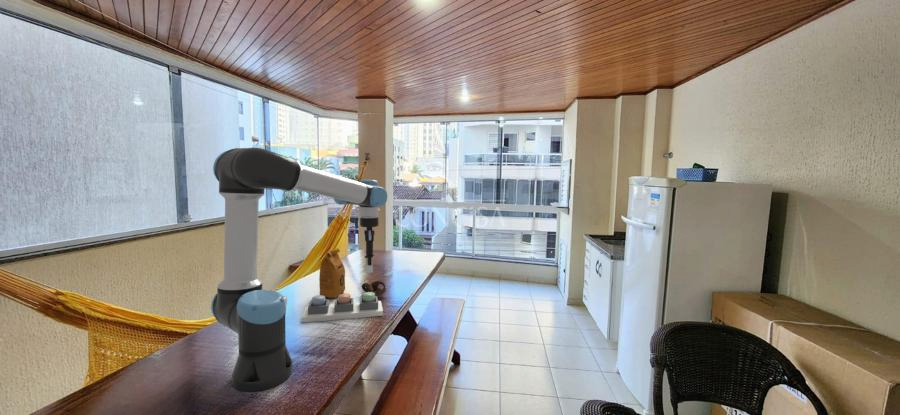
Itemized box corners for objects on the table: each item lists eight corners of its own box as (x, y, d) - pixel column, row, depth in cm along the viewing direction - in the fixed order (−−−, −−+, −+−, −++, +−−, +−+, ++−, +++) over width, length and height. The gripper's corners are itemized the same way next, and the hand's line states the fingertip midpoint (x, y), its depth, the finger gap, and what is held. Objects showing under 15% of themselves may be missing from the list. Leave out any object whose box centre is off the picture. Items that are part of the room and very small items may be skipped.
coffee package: (348, 291, 169) (348, 248, 167) (335, 300, 157) (335, 253, 155) (330, 290, 171) (330, 246, 169) (316, 298, 158) (315, 252, 157)
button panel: (302, 322, 132) (302, 310, 132) (306, 310, 144) (306, 299, 143) (382, 315, 141) (383, 303, 140) (380, 305, 152) (380, 294, 152)
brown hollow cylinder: (386, 292, 170) (389, 281, 166) (381, 307, 162) (384, 295, 158) (362, 286, 169) (365, 274, 165) (356, 300, 161) (359, 288, 157)
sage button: (362, 303, 141) (362, 296, 141) (362, 299, 146) (362, 292, 146) (375, 302, 143) (375, 295, 143) (374, 298, 148) (374, 291, 147)
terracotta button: (337, 305, 139) (337, 298, 138) (338, 301, 144) (338, 294, 143) (350, 304, 140) (350, 297, 140) (350, 300, 145) (350, 293, 145)
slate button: (311, 307, 136) (311, 300, 136) (312, 302, 141) (312, 295, 141) (324, 306, 137) (324, 299, 137) (325, 301, 142) (325, 294, 142)
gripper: (379, 218, 136) (379, 275, 139) (377, 214, 149) (377, 267, 151) (360, 219, 134) (360, 277, 136) (359, 215, 147) (360, 268, 149)
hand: (369, 272), depth 144 cm, fingers closed
